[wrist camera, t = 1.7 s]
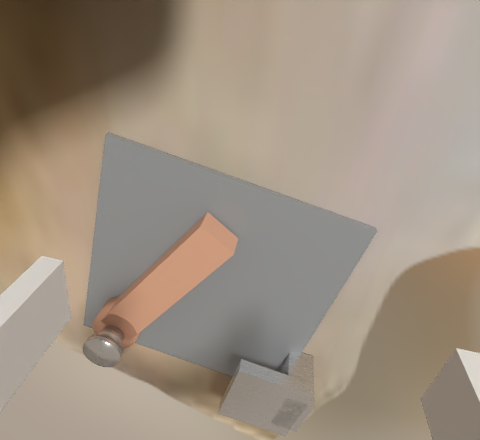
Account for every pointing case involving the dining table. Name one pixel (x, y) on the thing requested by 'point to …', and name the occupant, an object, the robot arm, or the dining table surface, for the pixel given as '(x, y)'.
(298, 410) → the block
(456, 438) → the robot arm
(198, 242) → the link
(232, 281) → the base board
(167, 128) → the dining table surface
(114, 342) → the silver metal knob
